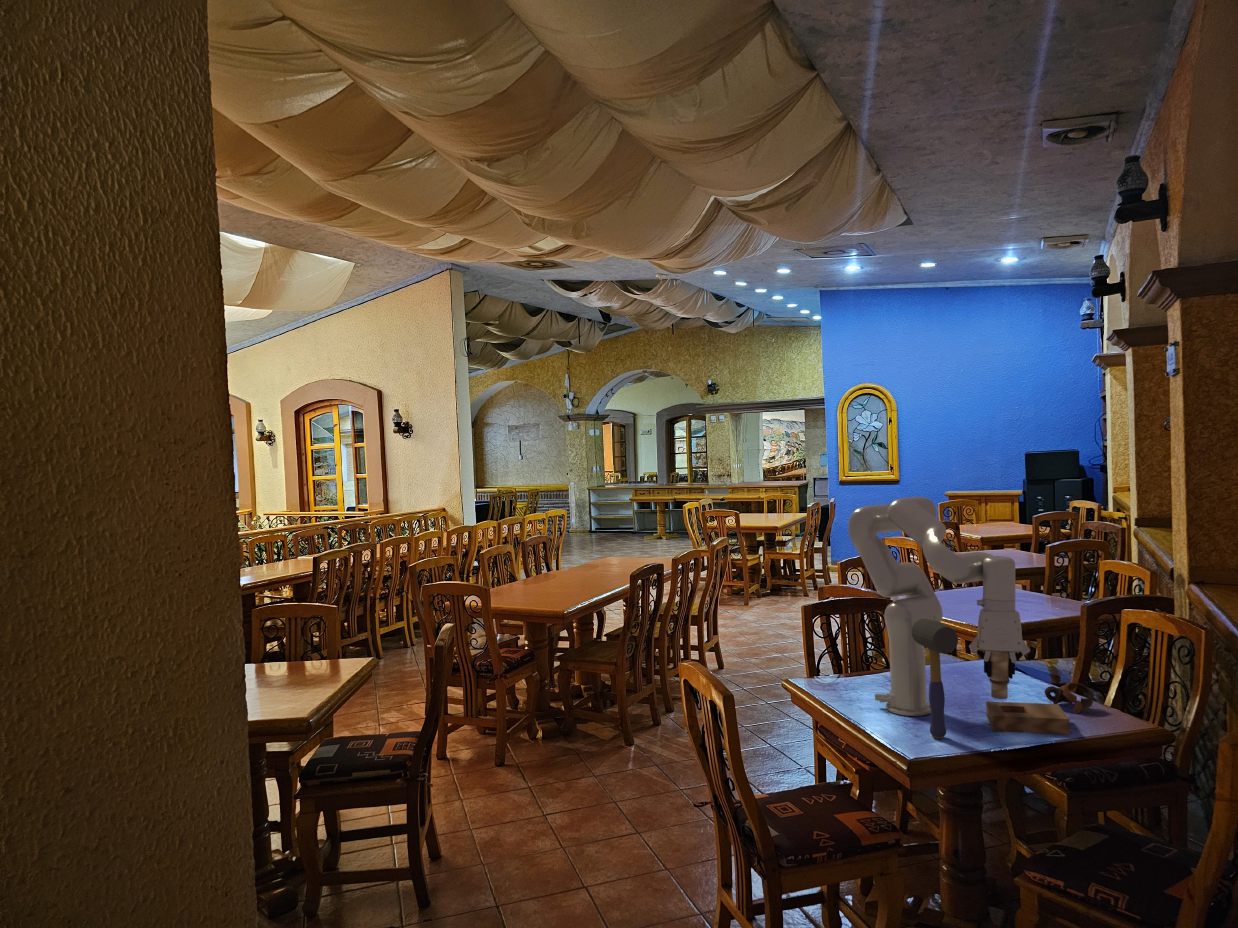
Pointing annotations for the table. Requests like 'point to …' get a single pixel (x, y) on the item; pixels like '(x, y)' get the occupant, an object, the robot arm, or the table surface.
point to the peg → (999, 674)
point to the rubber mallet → (935, 666)
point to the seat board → (1027, 717)
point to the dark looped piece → (1070, 695)
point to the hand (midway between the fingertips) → (999, 675)
